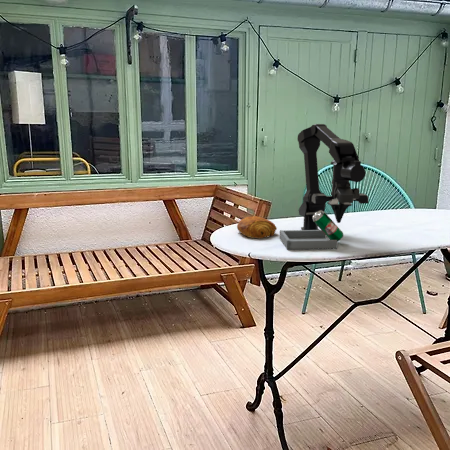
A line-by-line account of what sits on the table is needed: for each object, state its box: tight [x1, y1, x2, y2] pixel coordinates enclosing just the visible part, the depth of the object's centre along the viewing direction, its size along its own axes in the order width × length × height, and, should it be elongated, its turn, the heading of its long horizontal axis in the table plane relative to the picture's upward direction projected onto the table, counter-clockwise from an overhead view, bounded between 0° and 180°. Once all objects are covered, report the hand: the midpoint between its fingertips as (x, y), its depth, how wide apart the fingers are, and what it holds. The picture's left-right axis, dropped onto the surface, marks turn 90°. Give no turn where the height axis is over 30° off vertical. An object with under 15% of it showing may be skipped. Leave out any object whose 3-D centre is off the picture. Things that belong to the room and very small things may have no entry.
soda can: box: [312, 210, 344, 243], centre depth 162 cm, size 5×5×12 cm
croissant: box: [236, 215, 278, 239], centre depth 177 cm, size 14×16×8 cm
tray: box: [278, 229, 338, 251], centre depth 163 cm, size 16×17×3 cm
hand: (338, 222), depth 162 cm, fingers closed
